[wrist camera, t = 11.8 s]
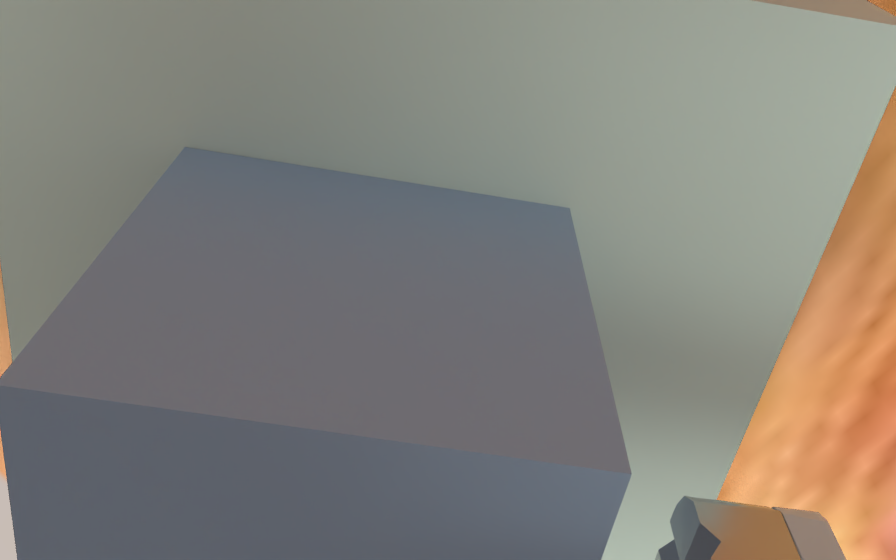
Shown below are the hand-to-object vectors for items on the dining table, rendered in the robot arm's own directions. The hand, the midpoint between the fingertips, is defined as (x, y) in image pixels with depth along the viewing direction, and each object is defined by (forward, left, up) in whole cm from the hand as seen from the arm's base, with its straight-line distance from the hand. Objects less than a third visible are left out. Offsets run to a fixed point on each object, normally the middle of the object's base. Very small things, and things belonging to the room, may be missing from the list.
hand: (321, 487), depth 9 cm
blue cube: (0, 0, -3) cm, 3 cm away
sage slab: (0, +1, -7) cm, 7 cm away
